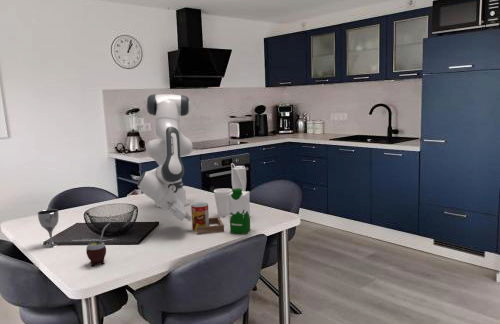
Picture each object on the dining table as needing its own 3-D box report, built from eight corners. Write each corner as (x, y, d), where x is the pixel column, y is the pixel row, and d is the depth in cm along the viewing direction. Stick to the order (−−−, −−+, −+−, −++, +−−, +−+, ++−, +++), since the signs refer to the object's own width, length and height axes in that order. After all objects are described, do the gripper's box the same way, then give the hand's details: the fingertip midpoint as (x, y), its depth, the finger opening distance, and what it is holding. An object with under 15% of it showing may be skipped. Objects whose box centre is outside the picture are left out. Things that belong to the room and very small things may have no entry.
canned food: (193, 227, 201) (191, 202, 199) (209, 226, 201) (208, 201, 199) (191, 232, 193) (190, 206, 191) (208, 231, 193) (207, 206, 191)
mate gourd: (83, 265, 158) (79, 227, 156) (98, 258, 166) (94, 221, 163) (99, 268, 156) (95, 229, 153) (113, 260, 163) (110, 222, 161)
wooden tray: (194, 225, 204) (194, 219, 203) (219, 222, 206) (219, 216, 206) (197, 234, 190) (197, 228, 189) (224, 231, 192) (223, 225, 192)
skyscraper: (229, 219, 211) (227, 164, 207) (236, 215, 218) (233, 161, 214) (245, 220, 208) (242, 164, 204) (251, 216, 215) (249, 162, 211)
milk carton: (228, 233, 189) (225, 190, 186) (235, 227, 198) (233, 185, 195) (246, 235, 186) (244, 191, 183) (252, 228, 195) (251, 186, 192)
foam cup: (234, 212, 225) (233, 188, 223) (231, 217, 215) (230, 192, 213) (216, 212, 225) (215, 188, 223) (213, 217, 216) (212, 192, 214)
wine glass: (48, 249, 178) (44, 215, 175) (37, 246, 182) (33, 212, 179) (65, 243, 184) (62, 210, 182) (54, 240, 188) (51, 208, 186)
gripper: (173, 200, 182) (197, 220, 185) (171, 190, 202) (193, 208, 205) (163, 211, 182) (187, 230, 185) (162, 200, 202) (184, 218, 205)
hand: (190, 219), depth 195 cm, fingers closed, pressing on canned food
